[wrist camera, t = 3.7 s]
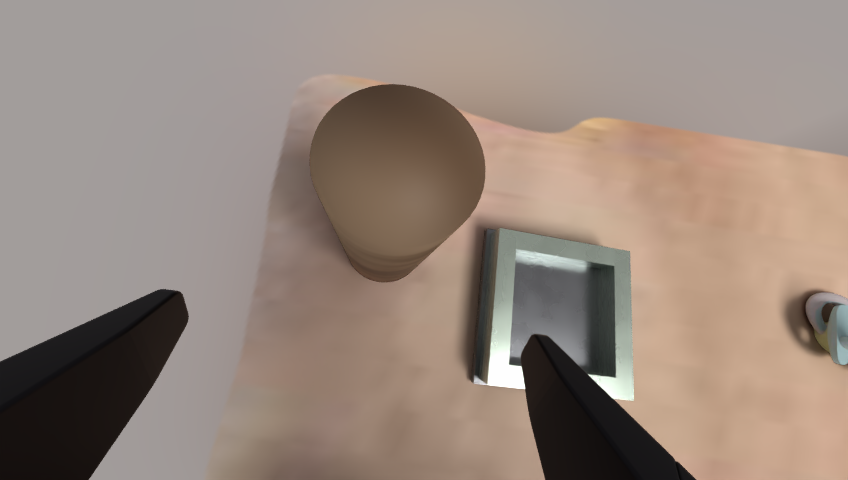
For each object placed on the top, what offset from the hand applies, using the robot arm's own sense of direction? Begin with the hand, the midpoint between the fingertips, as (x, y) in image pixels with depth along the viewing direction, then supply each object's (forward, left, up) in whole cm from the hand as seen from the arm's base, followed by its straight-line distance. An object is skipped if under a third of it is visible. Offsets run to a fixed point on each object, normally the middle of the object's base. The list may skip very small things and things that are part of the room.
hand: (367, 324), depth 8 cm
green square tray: (+9, -8, -12) cm, 17 cm away
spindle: (+4, +3, -12) cm, 12 cm away
